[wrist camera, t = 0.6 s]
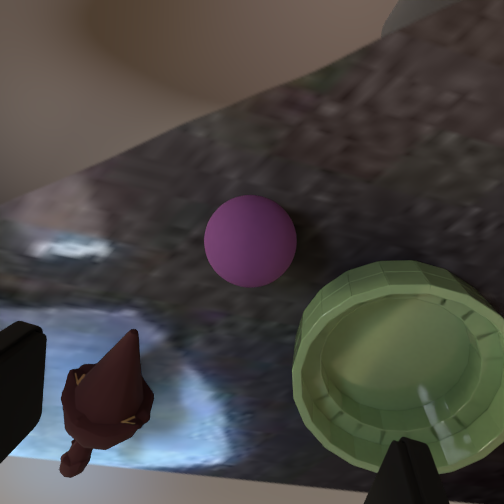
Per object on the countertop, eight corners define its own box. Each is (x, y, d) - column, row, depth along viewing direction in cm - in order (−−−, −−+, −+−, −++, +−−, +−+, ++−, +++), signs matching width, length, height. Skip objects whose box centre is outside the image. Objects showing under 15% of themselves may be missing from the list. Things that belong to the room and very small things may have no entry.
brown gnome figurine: (56, 321, 26) (22, 455, 32) (139, 390, 24) (86, 517, 30) (129, 286, 32) (88, 405, 38) (200, 339, 30) (144, 454, 36)
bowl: (327, 234, 27) (329, 256, 23) (531, 290, 26) (577, 325, 22) (276, 393, 32) (269, 438, 27) (447, 446, 31) (470, 503, 26)
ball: (226, 178, 27) (202, 192, 22) (308, 201, 27) (306, 220, 21) (209, 256, 29) (184, 286, 24) (286, 278, 29) (278, 314, 23)
